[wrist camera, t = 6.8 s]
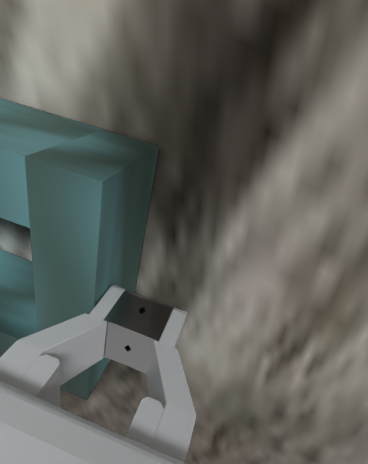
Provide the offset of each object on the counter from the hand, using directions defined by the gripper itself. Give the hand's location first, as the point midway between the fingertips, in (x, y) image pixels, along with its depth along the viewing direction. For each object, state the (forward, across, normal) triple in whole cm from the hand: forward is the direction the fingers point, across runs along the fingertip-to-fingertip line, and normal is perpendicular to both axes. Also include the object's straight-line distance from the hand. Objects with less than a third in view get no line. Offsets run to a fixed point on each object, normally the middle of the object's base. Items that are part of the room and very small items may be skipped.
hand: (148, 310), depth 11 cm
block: (+3, +6, 0) cm, 7 cm away
